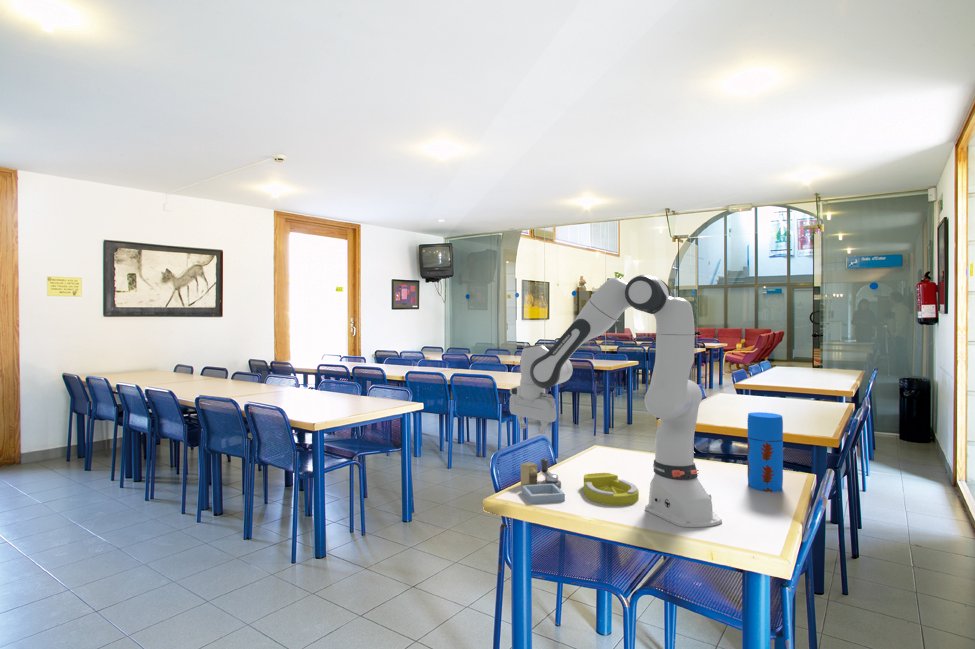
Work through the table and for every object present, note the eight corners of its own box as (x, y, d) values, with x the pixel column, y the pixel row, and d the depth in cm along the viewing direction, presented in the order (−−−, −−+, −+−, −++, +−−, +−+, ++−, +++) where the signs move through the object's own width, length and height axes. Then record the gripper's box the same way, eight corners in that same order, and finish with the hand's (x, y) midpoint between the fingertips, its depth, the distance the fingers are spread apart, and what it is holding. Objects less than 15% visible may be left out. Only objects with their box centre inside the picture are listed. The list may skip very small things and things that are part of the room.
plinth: (563, 491, 180) (563, 484, 180) (519, 494, 177) (519, 487, 177) (557, 485, 186) (557, 478, 186) (514, 488, 183) (514, 481, 183)
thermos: (750, 490, 180) (750, 416, 180) (745, 481, 190) (744, 411, 190) (786, 493, 177) (786, 418, 176) (779, 484, 187) (779, 413, 187)
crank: (559, 483, 181) (559, 466, 181) (547, 483, 180) (547, 467, 180) (549, 473, 192) (549, 458, 192) (537, 474, 191) (537, 459, 191)
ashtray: (618, 486, 187) (618, 471, 187) (648, 506, 167) (648, 490, 166) (573, 489, 183) (573, 474, 183) (599, 510, 163) (599, 494, 163)
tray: (564, 503, 168) (564, 493, 168) (531, 505, 166) (531, 496, 166) (553, 492, 179) (553, 483, 179) (521, 494, 177) (521, 485, 177)
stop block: (537, 487, 185) (537, 464, 185) (529, 489, 182) (529, 466, 182) (528, 484, 188) (528, 461, 188) (520, 486, 185) (520, 463, 185)
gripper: (561, 394, 179) (560, 435, 180) (519, 387, 195) (519, 424, 195) (547, 395, 175) (547, 437, 176) (506, 388, 191) (506, 427, 191)
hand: (532, 430), depth 186 cm, fingers open, 8 cm apart
